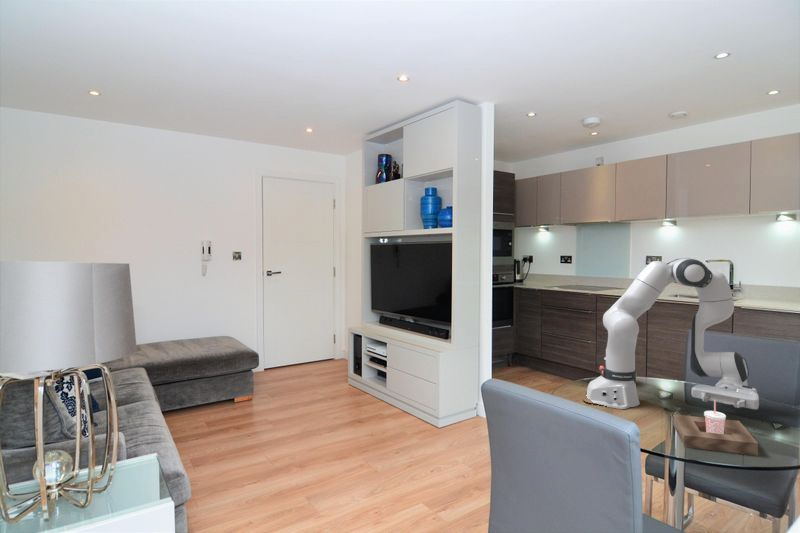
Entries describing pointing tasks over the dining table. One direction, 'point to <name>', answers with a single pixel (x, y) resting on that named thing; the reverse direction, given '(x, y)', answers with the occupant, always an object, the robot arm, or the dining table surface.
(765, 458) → the dining table surface
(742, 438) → the walnut tray
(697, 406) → the dining table surface
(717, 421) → the beverage cup
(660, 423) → the dining table surface
